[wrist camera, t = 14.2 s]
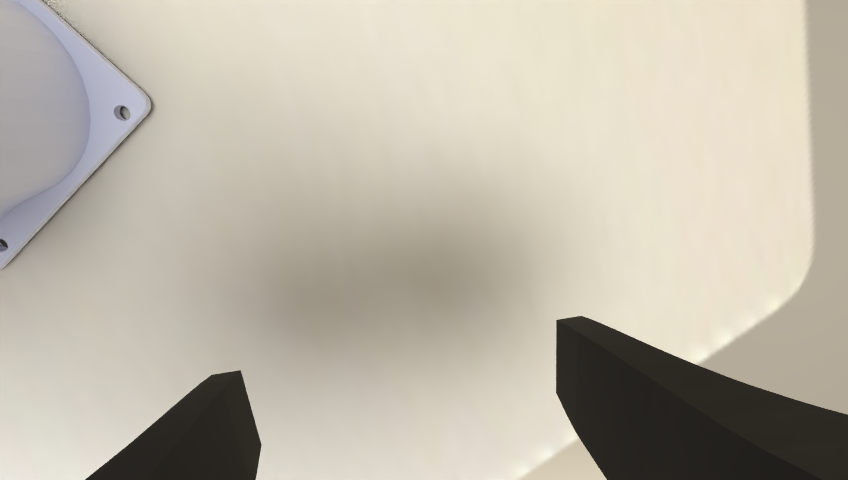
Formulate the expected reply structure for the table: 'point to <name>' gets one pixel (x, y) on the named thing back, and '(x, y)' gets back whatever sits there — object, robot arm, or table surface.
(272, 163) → the table surface
